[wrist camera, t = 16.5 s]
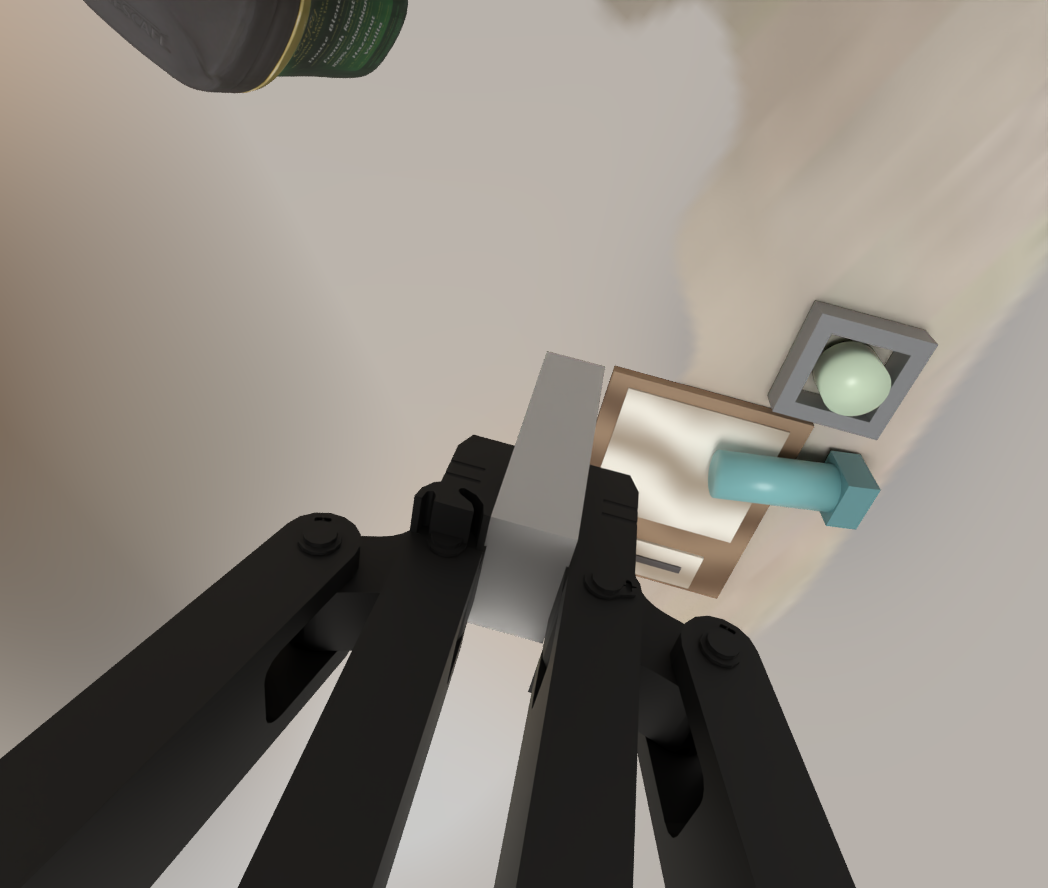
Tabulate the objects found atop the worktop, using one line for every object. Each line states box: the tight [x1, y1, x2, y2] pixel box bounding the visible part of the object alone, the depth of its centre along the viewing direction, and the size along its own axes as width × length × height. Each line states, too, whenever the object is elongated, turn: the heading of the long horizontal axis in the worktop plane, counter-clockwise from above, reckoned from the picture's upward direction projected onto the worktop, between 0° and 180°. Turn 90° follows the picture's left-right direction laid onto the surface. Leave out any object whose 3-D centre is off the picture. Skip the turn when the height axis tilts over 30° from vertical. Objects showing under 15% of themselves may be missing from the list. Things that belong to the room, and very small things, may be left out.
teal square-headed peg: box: [708, 450, 880, 529], centre depth 51 cm, size 4×4×11 cm
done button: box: [813, 342, 891, 416], centre depth 46 cm, size 4×4×3 cm
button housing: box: [768, 300, 938, 440], centre depth 47 cm, size 8×8×2 cm
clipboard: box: [590, 366, 814, 599], centre depth 56 cm, size 20×16×2 cm
